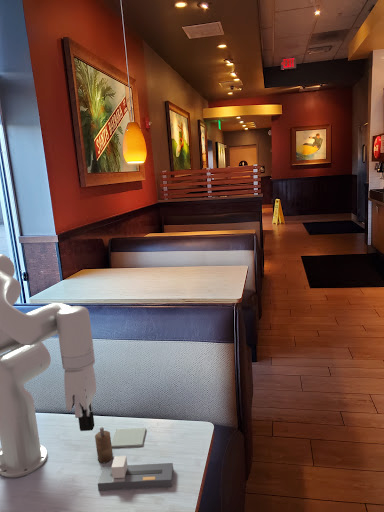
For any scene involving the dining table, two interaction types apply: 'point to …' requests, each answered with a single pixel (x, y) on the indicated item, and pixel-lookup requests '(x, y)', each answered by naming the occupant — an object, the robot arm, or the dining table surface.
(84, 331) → the robot arm
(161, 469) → the switch board
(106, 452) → the tool handle
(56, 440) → the dining table surface
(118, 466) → the switch tab
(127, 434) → the mat
